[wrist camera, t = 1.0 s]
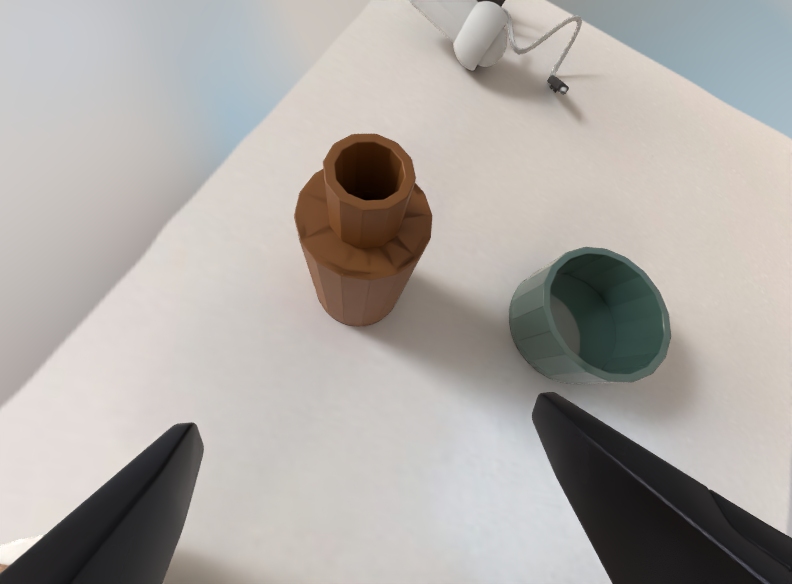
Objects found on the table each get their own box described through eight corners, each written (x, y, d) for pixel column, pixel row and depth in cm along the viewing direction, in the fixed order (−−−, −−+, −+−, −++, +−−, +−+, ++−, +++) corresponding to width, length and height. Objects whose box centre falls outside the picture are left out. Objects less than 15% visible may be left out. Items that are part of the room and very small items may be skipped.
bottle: (414, 294, 24) (485, 191, 11) (350, 343, 22) (352, 282, 10) (366, 235, 25) (384, 81, 12) (300, 278, 23) (245, 146, 11)
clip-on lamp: (554, 82, 38) (438, -31, 34) (606, 29, 32) (472, -113, 29) (526, 139, 33) (386, 12, 29) (581, 88, 27) (416, -75, 24)
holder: (635, 334, 25) (694, 322, 21) (567, 410, 23) (619, 415, 18) (558, 251, 27) (598, 224, 22) (485, 314, 24) (515, 297, 20)
